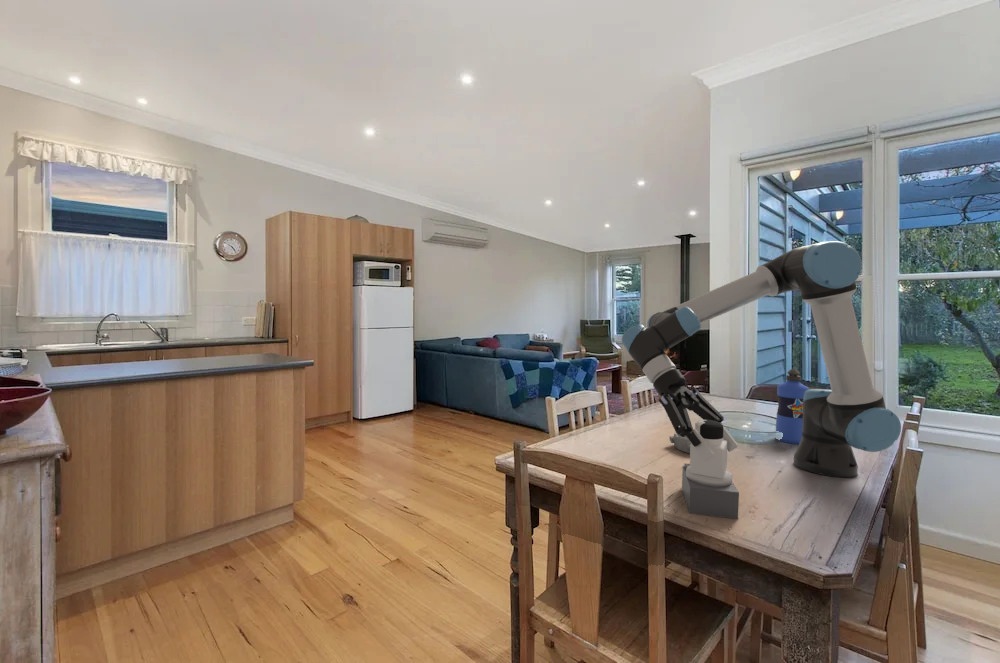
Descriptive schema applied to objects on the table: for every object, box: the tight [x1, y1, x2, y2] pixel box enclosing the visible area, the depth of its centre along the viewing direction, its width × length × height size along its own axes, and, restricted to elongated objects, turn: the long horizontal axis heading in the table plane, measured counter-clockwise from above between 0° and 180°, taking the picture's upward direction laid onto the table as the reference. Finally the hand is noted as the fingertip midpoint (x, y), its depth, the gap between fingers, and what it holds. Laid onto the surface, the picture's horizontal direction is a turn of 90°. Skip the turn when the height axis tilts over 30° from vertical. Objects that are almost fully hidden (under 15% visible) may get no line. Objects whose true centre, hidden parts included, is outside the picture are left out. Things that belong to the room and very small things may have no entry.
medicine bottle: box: [689, 419, 728, 479], centre depth 107 cm, size 7×7×12 cm
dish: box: [669, 428, 695, 454], centre depth 148 cm, size 14×14×5 cm
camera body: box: [681, 463, 740, 520], centre depth 108 cm, size 10×14×8 cm
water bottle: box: [775, 368, 810, 445], centre depth 158 cm, size 9×9×25 cm
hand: (722, 453), depth 105 cm, fingers open, 10 cm apart
